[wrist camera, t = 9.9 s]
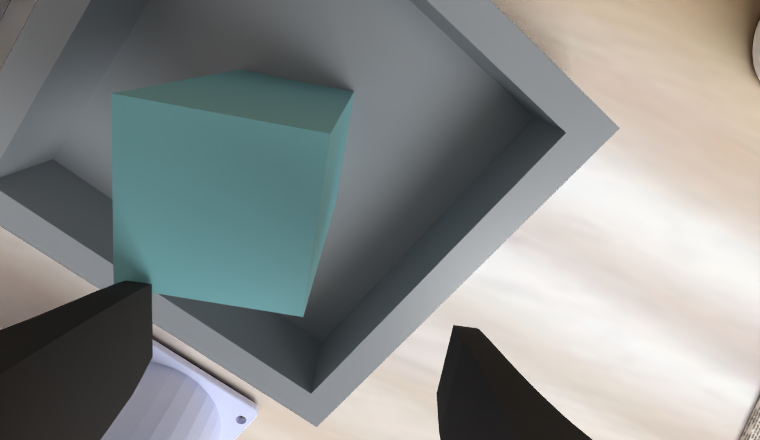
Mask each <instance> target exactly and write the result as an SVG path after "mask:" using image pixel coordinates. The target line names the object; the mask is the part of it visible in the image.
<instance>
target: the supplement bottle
mask: <svg viewBox="0 0 760 440" xmlns="http://www.w3.org/2000/svg"><path fill="white" fill-rule="evenodd" d="M753 63H754V67H755V71H756V74H757V77H758V78H759V80H760V20H759V22H758V25H757V28H756V31H755V35H754V41H753Z"/></svg>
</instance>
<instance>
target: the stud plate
mask: <svg viewBox="0 0 760 440" xmlns="http://www.w3.org/2000/svg"><path fill="white" fill-rule="evenodd" d="M9 2H10V0H0V20H1V18H2V16H3V14H4V12H5V10H6V8H7V6H8V4H9Z"/></svg>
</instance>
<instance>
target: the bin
mask: <svg viewBox="0 0 760 440" xmlns="http://www.w3.org/2000/svg"><path fill="white" fill-rule="evenodd" d="M234 70H244V71H249V72H254V73H260V74H265V75H270V76H275V77H281V78H286V79H291V80H296V81H301V82H307V83H312V84H317V85H322V86H328V87H333V88H338V89H343V90H349V91H354V96H353V102H352V108H351V114H350V121H349V127H348V133H347V139H346V145H345V152H344V158H343V164H342V170H341V176H340V182H339V189H338V195H337V200H336V204H335V207H334V211H333V214H332V218H331V221H330V225H329V228H328V232H327V235H326V239H325V242H324V246H323V249H322V253H321V256H320V260H319V263H318V267H317V270H316V274H315V277H314V281H313V284H312V288H311V291H310V295H309V298H308V302H307V305H306V309H305V312H304V316H303V317H300V316H294V315H287V314H281V313H275V312H269V311H263V310H256V309H250V308H244V307H238V306H231V305H225V304H219V303H213V302H206V301H200V300H194V299H188V298H182V297H175V296H169V295H163V294H157V293H152V323H154V324H155V325H157V326H159V327H160V328H162V329H163V330H165V331H166V332H168V333H170V334H171V335H173V336H174V337H176V338H178V339H179V340H181V341H182V342H184V343H185V344H187V345H189V346H190V347H192V348H193V349H195V350H196V351H198V352H200V353H201V354H203V355H204V356H206V357H207V358H209V359H211V360H212V361H214V362H215V363H217V364H218V365H220V366H222V367H223V368H225V369H226V370H228V371H229V372H231V373H233V374H234V375H236V376H237V377H239V378H240V379H242V380H244V381H245V382H247V383H248V384H250V385H251V386H253V387H255V388H256V389H258V390H259V391H261V392H262V393H264V394H266V395H267V396H269V397H270V398H272V399H273V400H275V401H277V402H278V403H280V404H281V405H283V406H285V407H286V408H288V409H289V410H291V411H292V412H294V413H296V414H297V415H299V416H300V417H302V418H303V419H305V420H307V421H308V422H310V423H311V424H313V425H314V426H316V427H317V426H318V425H319V424H320V423H321V422H322V421H323V420H324V419H325V418H326V417H327V416H328V415H329V414H330V413H331V412H332V411H334V410H335V409H336V408H337V407H338V406H339V405H340V404H341V403H342V402H343V401H344V400H345V399H346V398H347V397H348V396H349V395H350V394H351V393H352V392H353V391H354V390H355V389H356V388H357V387H358V386H359V385H360V384H361V383H362V382H363V381H364V380H365V379H366V378H367V377H368V376H369V375H370V374H371V373H372V372H373V371H374V370H375V369H376V368H377V367H378V366H379V365H380V364H381V363H382V362H383V361H384V360H385V359H386V358H387V357H388V356H389V355H390V354H391V353H392V352H393V351H394V350H395V349H396V348H397V347H398V346H399V345H400V344H401V343H402V342H403V341H404V340H405V339H407V338H408V337H409V336H410V335H411V334H412V333H413V332H414V331H415V330H416V329H417V328H418V327H419V326H420V325H421V324H422V323H423V322H424V321H425V320H426V319H427V318H428V317H429V316H430V315H431V314H432V313H433V312H434V311H435V310H436V309H437V308H438V307H439V306H440V305H441V304H442V303H443V302H444V301H445V300H446V299H447V298H448V297H449V296H450V295H451V294H452V293H453V292H454V291H455V290H456V289H457V288H458V287H459V286H460V285H461V284H462V283H463V282H464V281H465V280H466V279H467V278H468V277H469V276H470V275H471V274H472V273H473V272H474V271H475V270H476V269H477V268H479V267H480V266H481V265H482V264H483V263H484V262H485V261H486V260H487V259H488V258H489V257H490V256H491V255H492V254H493V253H494V252H495V251H496V250H497V249H498V248H499V247H500V246H501V245H502V244H503V243H504V242H505V241H506V240H507V239H508V238H509V237H510V236H511V235H512V234H513V233H514V232H515V231H516V230H517V229H518V228H519V227H520V226H521V225H522V224H523V223H524V222H525V221H526V220H527V219H528V218H529V217H530V216H531V215H532V214H533V213H534V212H535V211H536V210H537V209H538V208H539V207H540V206H541V205H542V204H543V203H544V202H545V201H546V200H547V199H548V198H549V197H550V196H552V195H553V194H554V193H555V192H556V191H557V190H558V189H559V188H560V187H561V186H562V185H563V184H564V183H565V182H566V181H567V180H568V179H569V178H570V177H571V176H572V175H573V174H574V173H575V172H576V171H577V170H578V169H579V168H580V167H581V166H582V165H583V164H584V163H585V162H586V161H587V160H588V159H589V158H590V157H591V156H592V155H593V154H594V153H595V152H596V151H597V150H598V149H599V148H600V147H601V146H602V145H603V144H604V143H605V142H606V141H607V140H608V139H609V138H610V137H611V136H612V135H613V134H614V133H615V132H616V131H617V130H618V129H619V127H618V126H617V125H616V124H615V123H614V122H613V121H612V120H611V119H610V118H609V117H608V116H607V115H606V114H605V113H604V112H603V111H602V110H601V109H600V108H599V107H598V106H597V105H596V104H595V103H594V102H593V101H592V100H591V99H590V98H589V97H588V96H587V95H586V94H585V93H583V92H582V91H581V90H580V89H579V88H578V87H577V86H576V85H575V84H574V83H573V82H572V81H571V80H570V79H569V78H568V77H567V76H566V75H565V74H564V73H563V72H562V71H561V70H560V69H559V68H558V67H557V66H556V65H555V64H554V63H553V62H552V61H551V60H550V59H549V58H548V57H547V56H546V55H545V54H544V53H543V52H542V51H541V50H540V49H539V48H538V47H537V46H536V45H535V44H534V43H533V42H532V41H531V40H530V39H529V38H528V37H527V36H526V35H525V34H524V33H523V32H522V31H521V30H520V29H519V28H518V27H517V26H516V25H515V24H514V23H513V22H512V21H511V20H510V19H509V18H508V17H507V16H506V15H505V14H504V13H503V12H502V11H501V10H500V9H499V8H498V7H497V6H496V5H495V4H494V3H493V2H492V1H491V0H37V2H36V4H35V6H34V8H33V10H32V12H31V14H30V15H29V17H28V19H27V21H26V23H25V25H24V27H23V29H22V30H21V32H20V34H19V36H18V38H17V40H16V42H15V44H14V46H13V47H12V49H11V51H10V53H9V55H8V57H7V59H6V61H5V62H4V64H3V66H2V68H1V70H0V226H1V227H3V228H4V229H6V230H8V231H9V232H11V233H12V234H14V235H15V236H17V237H19V238H20V239H22V240H23V241H25V242H26V243H28V244H30V245H31V246H33V247H34V248H36V249H37V250H39V251H41V252H42V253H44V254H45V255H47V256H48V257H50V258H52V259H53V260H55V261H56V262H58V263H59V264H61V265H63V266H64V267H66V268H67V269H69V270H70V271H72V272H74V273H75V274H77V275H78V276H80V277H82V278H83V279H85V280H86V281H88V282H89V283H91V284H93V285H94V286H96V287H97V288H99V289H100V290H101V289H103V288H106V287H108V286H111V285H113V284H114V275H113V199H112V123H111V93H116V92H121V91H126V90H132V89H137V88H143V87H148V86H153V85H159V84H164V83H169V82H175V81H180V80H186V79H191V78H196V77H202V76H207V75H212V74H218V73H223V72H228V71H234Z"/></svg>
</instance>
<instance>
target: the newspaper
mask: <svg viewBox="0 0 760 440" xmlns="http://www.w3.org/2000/svg"><path fill="white" fill-rule="evenodd" d="M740 440H760V396H759V399H758V401H757V403H756V405H755V407H754V410H753V412H752V414H751V416H750V418H749V420H748V423H747V425H746V427H745V429H744V431H743V434H742V436H741V438H740Z"/></svg>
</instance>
